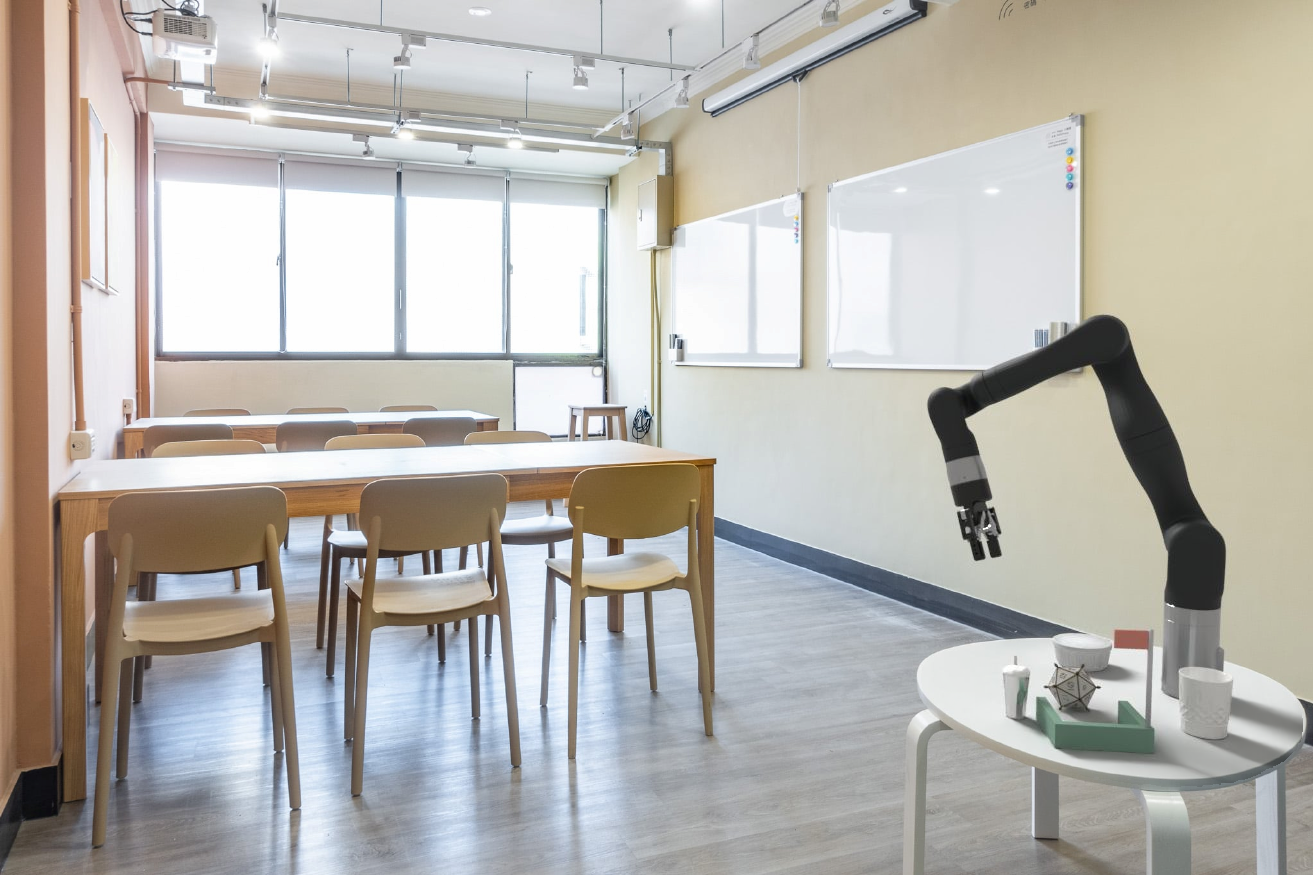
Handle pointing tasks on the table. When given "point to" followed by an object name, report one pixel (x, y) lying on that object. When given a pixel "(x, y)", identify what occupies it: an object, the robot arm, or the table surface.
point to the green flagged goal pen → (1105, 736)
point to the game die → (1072, 687)
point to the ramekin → (1082, 651)
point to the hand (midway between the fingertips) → (988, 558)
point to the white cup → (1205, 702)
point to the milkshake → (1016, 689)
